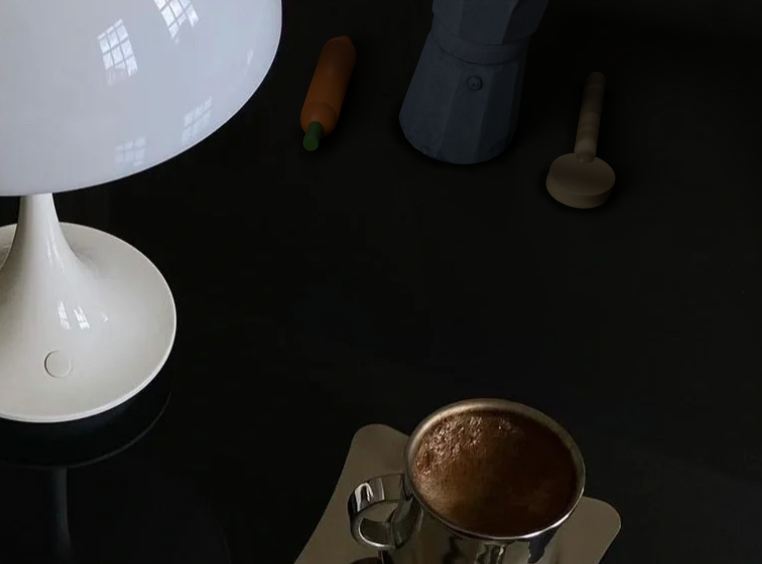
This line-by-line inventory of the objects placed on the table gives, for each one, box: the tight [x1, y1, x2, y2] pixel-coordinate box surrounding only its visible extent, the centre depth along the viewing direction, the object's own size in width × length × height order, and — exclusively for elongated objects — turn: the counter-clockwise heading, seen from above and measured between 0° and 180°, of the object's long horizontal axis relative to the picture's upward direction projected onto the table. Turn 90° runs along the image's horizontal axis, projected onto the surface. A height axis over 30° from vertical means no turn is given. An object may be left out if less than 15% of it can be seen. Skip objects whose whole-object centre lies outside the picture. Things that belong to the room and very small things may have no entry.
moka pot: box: [398, 0, 550, 165], centre depth 93 cm, size 10×15×20 cm, turn 12°
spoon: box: [545, 71, 616, 209], centre depth 101 cm, size 15×5×2 cm, turn 166°
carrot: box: [299, 34, 357, 152], centre depth 102 cm, size 14×3×3 cm, turn 166°
